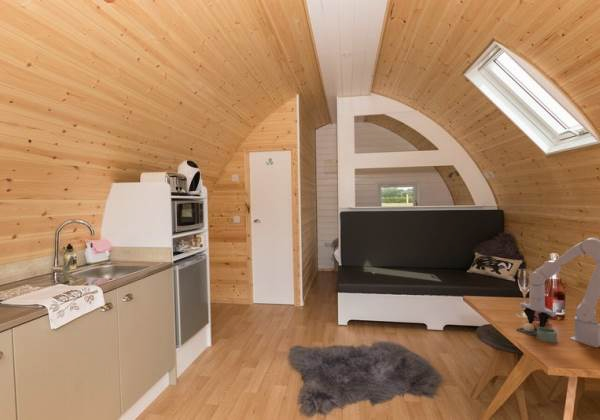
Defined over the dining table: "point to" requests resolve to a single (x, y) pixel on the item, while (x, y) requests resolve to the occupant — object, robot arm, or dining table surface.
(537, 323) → the ball terracotta
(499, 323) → the dining table surface
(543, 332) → the teal tube
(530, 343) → the dining table surface
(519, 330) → the slate tray
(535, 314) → the soda can
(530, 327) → the ball cream
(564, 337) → the dining table surface
